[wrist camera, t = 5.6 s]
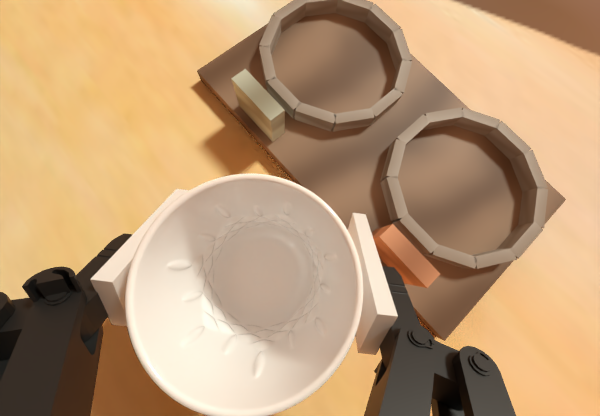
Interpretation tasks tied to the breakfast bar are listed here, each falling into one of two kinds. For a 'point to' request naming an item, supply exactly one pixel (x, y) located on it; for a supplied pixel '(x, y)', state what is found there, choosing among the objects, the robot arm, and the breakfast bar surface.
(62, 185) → the breakfast bar surface
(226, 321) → the white cup
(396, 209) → the board
